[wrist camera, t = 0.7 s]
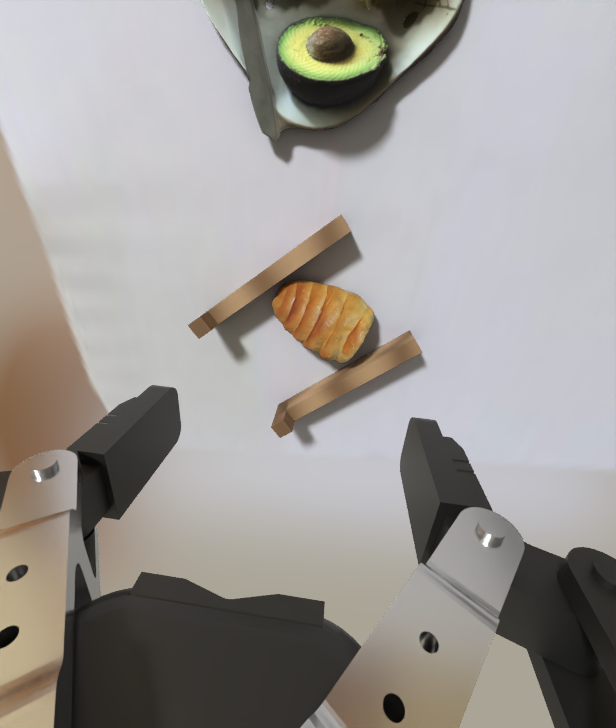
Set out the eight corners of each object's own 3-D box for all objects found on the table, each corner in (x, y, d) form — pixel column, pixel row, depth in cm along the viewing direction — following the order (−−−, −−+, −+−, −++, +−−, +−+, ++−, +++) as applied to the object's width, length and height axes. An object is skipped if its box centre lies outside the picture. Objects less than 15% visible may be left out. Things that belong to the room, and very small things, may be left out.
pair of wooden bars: (341, 214, 29) (341, 214, 25) (416, 342, 33) (427, 360, 29) (205, 312, 34) (187, 325, 30) (286, 414, 38) (280, 437, 34)
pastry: (264, 321, 34) (256, 333, 30) (292, 259, 31) (286, 264, 28) (346, 362, 35) (347, 377, 31) (380, 304, 32) (385, 315, 29)
